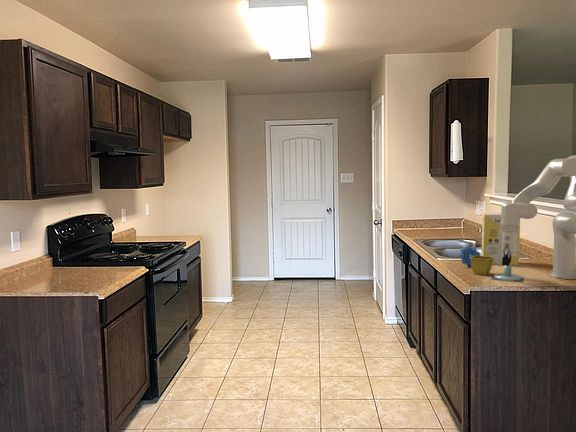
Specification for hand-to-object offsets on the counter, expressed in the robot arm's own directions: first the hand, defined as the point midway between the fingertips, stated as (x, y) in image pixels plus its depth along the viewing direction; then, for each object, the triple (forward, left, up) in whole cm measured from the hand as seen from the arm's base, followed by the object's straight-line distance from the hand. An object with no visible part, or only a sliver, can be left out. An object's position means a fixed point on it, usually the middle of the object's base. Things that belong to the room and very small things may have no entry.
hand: (506, 263), depth 230 cm
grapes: (+19, -23, -8) cm, 31 cm away
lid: (-1, -1, -7) cm, 7 cm away
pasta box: (+6, -43, -8) cm, 44 cm away
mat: (-1, -1, -8) cm, 8 cm away
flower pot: (+12, -7, -8) cm, 16 cm away
